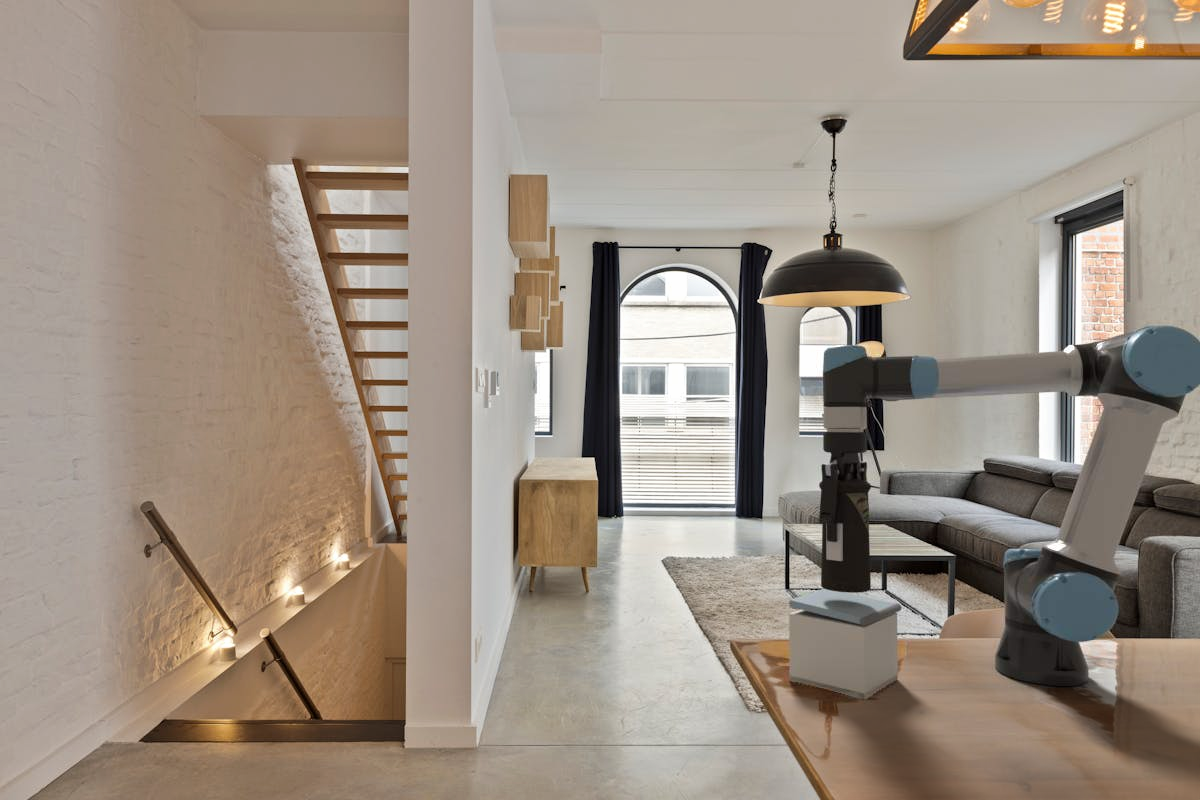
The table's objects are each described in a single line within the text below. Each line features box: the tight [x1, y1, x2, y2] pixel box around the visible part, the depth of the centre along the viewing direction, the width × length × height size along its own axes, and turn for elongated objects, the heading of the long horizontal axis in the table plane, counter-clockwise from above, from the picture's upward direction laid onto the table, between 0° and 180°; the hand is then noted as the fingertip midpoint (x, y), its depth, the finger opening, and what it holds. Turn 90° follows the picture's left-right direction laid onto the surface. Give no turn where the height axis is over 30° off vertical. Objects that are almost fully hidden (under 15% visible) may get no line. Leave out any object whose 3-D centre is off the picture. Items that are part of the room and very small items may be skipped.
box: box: [788, 609, 899, 701], centre depth 140 cm, size 14×14×12 cm
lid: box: [788, 588, 902, 626], centre depth 140 cm, size 15×14×1 cm
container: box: [818, 479, 872, 594], centre depth 140 cm, size 9×9×20 cm
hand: (845, 556), depth 140 cm, fingers closed on container, 8 cm apart
